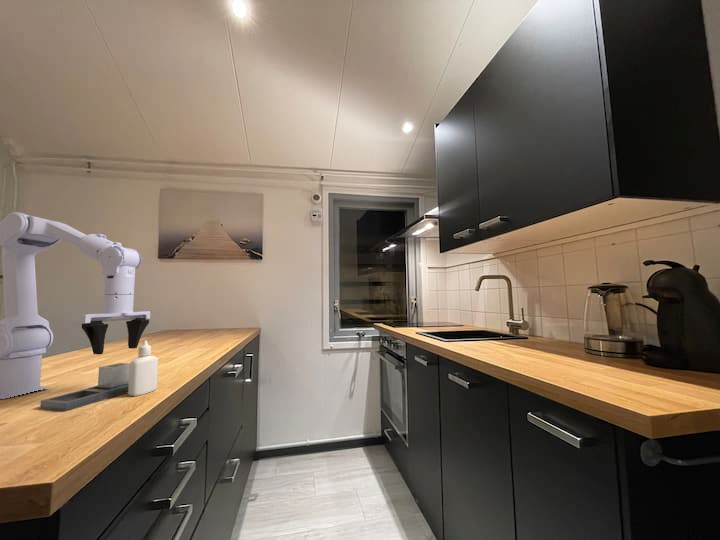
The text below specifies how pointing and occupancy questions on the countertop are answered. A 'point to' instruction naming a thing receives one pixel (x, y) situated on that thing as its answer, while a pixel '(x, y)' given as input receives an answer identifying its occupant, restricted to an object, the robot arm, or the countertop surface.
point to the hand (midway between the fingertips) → (116, 351)
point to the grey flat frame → (88, 395)
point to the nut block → (113, 376)
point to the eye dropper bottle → (143, 372)
